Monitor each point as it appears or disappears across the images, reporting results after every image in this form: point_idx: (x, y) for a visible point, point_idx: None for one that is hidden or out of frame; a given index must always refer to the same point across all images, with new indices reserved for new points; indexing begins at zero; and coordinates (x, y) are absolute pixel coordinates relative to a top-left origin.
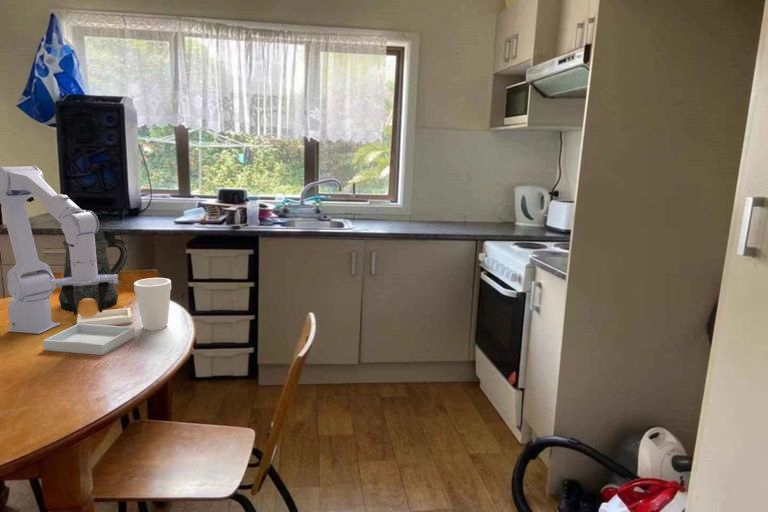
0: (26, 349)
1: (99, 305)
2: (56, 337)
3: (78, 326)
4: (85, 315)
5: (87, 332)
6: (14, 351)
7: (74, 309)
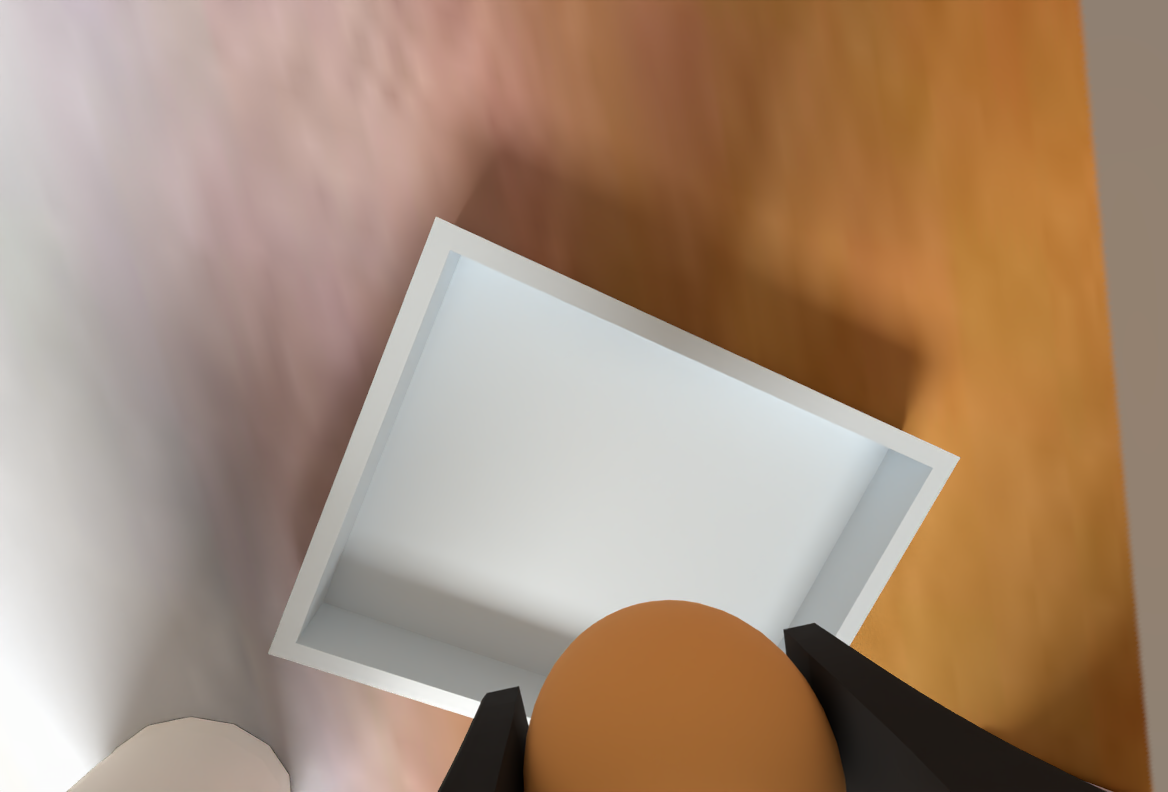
0: (1011, 476)
1: (495, 764)
2: (866, 552)
3: None
4: (676, 601)
5: None
6: (1077, 453)
7: (853, 666)
